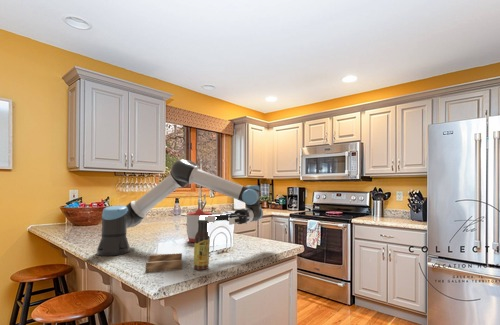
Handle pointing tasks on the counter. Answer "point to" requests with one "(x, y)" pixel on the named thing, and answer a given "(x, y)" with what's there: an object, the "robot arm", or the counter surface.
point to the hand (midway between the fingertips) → (217, 220)
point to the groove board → (164, 262)
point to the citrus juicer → (194, 223)
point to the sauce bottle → (201, 246)
